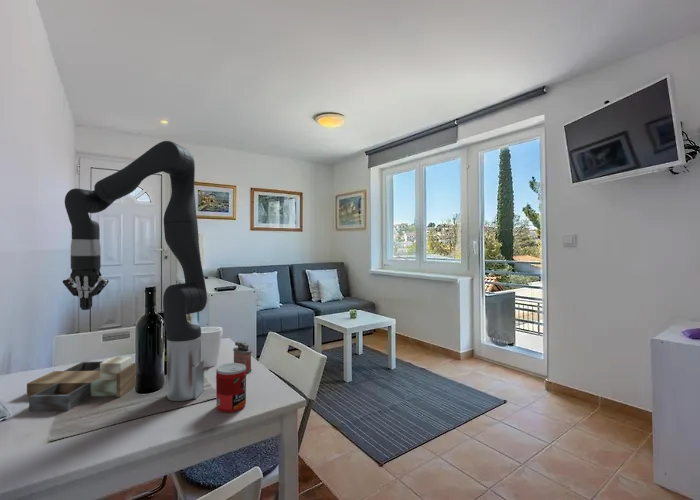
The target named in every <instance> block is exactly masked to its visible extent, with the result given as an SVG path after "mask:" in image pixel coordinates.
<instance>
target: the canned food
mask: <svg viewBox="0 0 700 500" xmlns="http://www.w3.org/2000/svg"><path fill="white" fill-rule="evenodd" d="M215 373H216V374H215V377H216V378H215V380H216V381H215V383H216V386H215V388H216V389H215V390H216V392H215V393H216V397H215V399H216V403H215V404H216V409H217V410H218V411H219V412H222V413H228V414H229V413H230V414H231V413H235V412H239V411H242V410H243V408H245V406H246V403H247V373H246V366H245V365H244V364H241V363H234V362H229V363H224V364H222V365H219V366H217V367H216V372H215Z"/></svg>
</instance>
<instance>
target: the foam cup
mask: <svg viewBox="0 0 700 500" xmlns="http://www.w3.org/2000/svg"><path fill="white" fill-rule="evenodd" d="M200 328H201V360H204V368H210V367H215V366H217V365H218V364H219V362H220V361H219V359H220V353H221V345H222V336H223V327H221V326H205V327H200Z"/></svg>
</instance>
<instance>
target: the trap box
mask: <svg viewBox="0 0 700 500" xmlns="http://www.w3.org/2000/svg"><path fill="white" fill-rule="evenodd" d="M104 361H105V360H104ZM104 361H82V362H80V363H77V364H75V365H72V366H71V367H69V368H67V369H65V370H59V371H58V370H53V371H51V372H49V373H46V374H44V375H42V376H40V377H38V378H36V379H34V380H32V381H29V382H27V383H26V397H27V398H28V404H29V407H28V411H29V412H66V411H67V412H69V411H70V410H72V409H73V408H75V407H77V406H78V405H80V404H81V403H83V402H84V401H86V400H88V399H90V397H116V398H122V396H124V395H126V394H127V393H129V391H131V390H132V389H134V388H135V387H136V386H135V376H136V362H137V361H135V362H132V365H130V366H128V367H127V368H125V369H123V370H122V371H120V372H118V373H117V380H100V363H102V362H104Z"/></svg>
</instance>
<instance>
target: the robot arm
mask: <svg viewBox="0 0 700 500" xmlns="http://www.w3.org/2000/svg"><path fill="white" fill-rule="evenodd" d="M195 164H196V163H195V159H194V155H193V154H192V152H191V151H190V150H189V149H187V148H186V147H184V146H181V145H180V144H178V143H176V142H174V141H171V140H163V141H160V142H159V143H157V144H155V145H153V146H152V147H150V148H149V149H147V151H145V152H144V153H143V154H141V155H140V156H138V157H137V158H136V159H134V160H133V161H132V162H131V163H130V164H128V165H126V166H125V167H124V168H122V169H120V170H118V171H116V172H114V173H112V174H110V175H108V176H106V177H104V178H102V179H100V180H98V181H97V182H96V183H95V184H94V186H93V187H94V188H93V190H90V189H89V190H88V189H83V188H76V187H75V188H72V189H69V191H67V193H66V195H65V197H64V207H65V210H66V214H67V216H68V220H69V222H70V225H71V240H70V241H71V243H70V269H71V273H70V276H69V277H68V278H66V279H63V280H62V284H63V285H64V286H65V287H66V288H67V290H68V291H69V292H70V294H71V295H72V296H74V297H77V298H79V308H80V310H82V311H88V310H91V308H93V298H94V297H96V296H97V295H100V293H102V291H103V289H104V288H105V287H106V286H107V285H108V283H109V282H110V281H109V279H105V278H104V277H103V276H102V273H101V271H100V270H101V265H102V264H101V263H102V262H101V259H102V258H101V257H102V256H101V241H100V237H101V235H100V224H99V222H97V221H96V220H92V219H91V217H90V214H97V213H100V212H102V211H105V210H107V208H108V207H110V206H111V205H112V204H113V203H114V202H115V201H117V200H120V199H121V198H123V197H126V196H128V195H129V194H131V193H133V192H135V190H136V189H137V188H138V187H139V186H140V184H141V183H142V182H143V181H144V180H145V179H146V178H148V177H151V176H152V175H155V174H158V173H165V174H168V175H169V178H170V187H171V194H170V198H169V201H168V203H167V206H166V208H165V211H164V216H163V231H164V239H165V243H166V245H167V246H168V248H169V249H170V251H171V253H172V254H173V255H174V256H175V258H176V260H177V261H178V262H179V264H180V266H181V268H182V271H183V277H184V283H176V284H171V285H169V286H167V287H166V288H165V290H164V292H163V298H162V309H163V323H164V324H163V325H164V330H165V333H166V399H167V400H169V401H172V402H183V401H189V400H194V399H197V398H199V396H200V395H201V394H202V393H203V392H204V390H205V389H204V388H205V387H204V384H205V382H204V381H205V379H204V378H205V377H204V374H205V373H204V371H205V369H204V368H205V367H204V360H201V328H202V327H201V326H199V325H197V324H193V323H189V322H188V317H187V315H190V314H195V313H200V312H202V311H203V310H204V309H206V305H207V301H208V294H207V293H208V292H207V288H206V282H205V277H204V276H205V275H204V272H203V271H204V270H203V266H202V260H201V259H202V258H201V252H200V251H201V250H200V242H199V241H200V239H199V226H198V218H197V217H198V215H197V207H196V204H197V203H196V195H195V176H196V175H195V173H196V172H195V171H196V170H195V169H196V167H195V166H196V165H195Z"/></svg>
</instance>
